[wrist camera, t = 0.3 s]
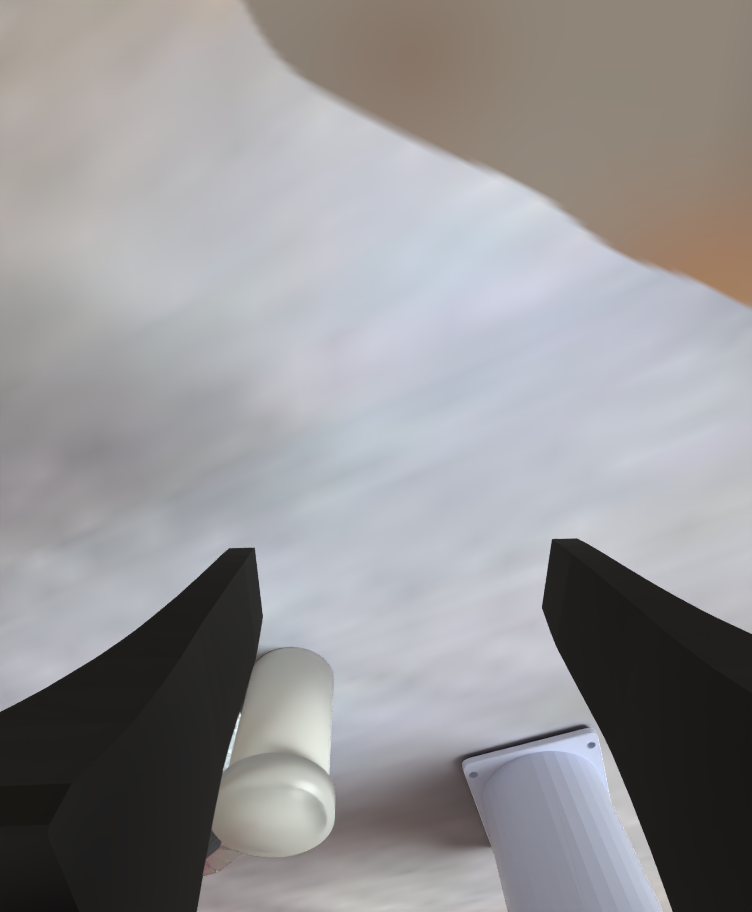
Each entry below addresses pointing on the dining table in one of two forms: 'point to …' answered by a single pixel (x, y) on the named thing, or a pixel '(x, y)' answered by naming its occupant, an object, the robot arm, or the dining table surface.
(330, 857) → the dining table surface
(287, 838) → the white knob
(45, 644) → the dining table surface
